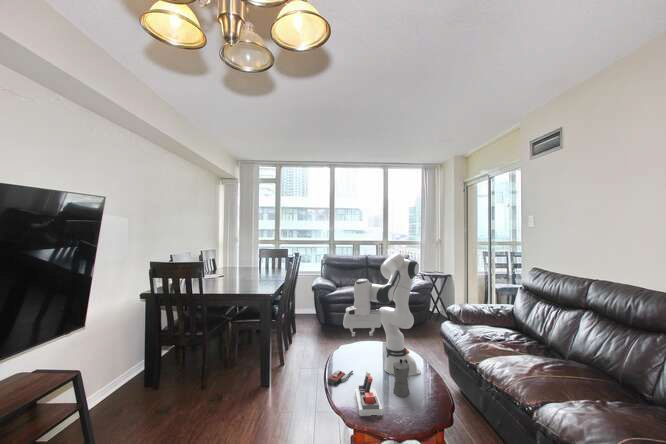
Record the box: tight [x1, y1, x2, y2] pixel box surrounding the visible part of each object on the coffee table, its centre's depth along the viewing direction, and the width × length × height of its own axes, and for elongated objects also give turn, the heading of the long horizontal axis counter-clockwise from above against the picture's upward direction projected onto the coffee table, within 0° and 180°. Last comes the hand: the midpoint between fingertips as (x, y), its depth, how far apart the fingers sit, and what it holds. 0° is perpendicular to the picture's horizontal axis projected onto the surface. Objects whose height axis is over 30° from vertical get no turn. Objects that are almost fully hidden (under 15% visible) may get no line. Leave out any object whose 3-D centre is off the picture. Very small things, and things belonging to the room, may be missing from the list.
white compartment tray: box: [354, 384, 383, 417], centre depth 153 cm, size 11×19×5 cm, turn 3°
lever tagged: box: [364, 375, 374, 395], centre depth 154 cm, size 2×3×10 cm
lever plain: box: [362, 370, 371, 389], centre depth 160 cm, size 2×3×10 cm
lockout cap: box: [365, 392, 374, 404], centre depth 148 cm, size 4×4×4 cm
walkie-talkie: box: [327, 369, 354, 386], centre depth 180 cm, size 9×4×20 cm
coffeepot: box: [393, 359, 411, 398], centre depth 165 cm, size 15×9×18 cm, turn 146°
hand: (362, 335), depth 159 cm, fingers open, 8 cm apart
